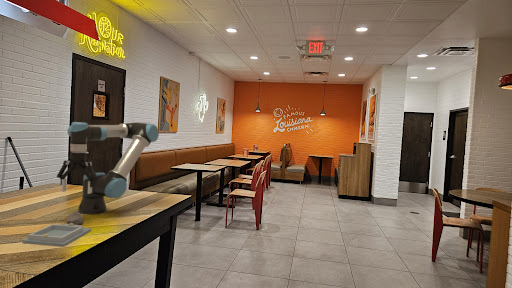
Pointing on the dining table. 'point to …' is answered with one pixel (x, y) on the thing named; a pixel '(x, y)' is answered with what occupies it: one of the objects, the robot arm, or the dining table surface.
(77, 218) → the stone
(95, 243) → the dining table surface
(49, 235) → the bracket board
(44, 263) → the dining table surface
